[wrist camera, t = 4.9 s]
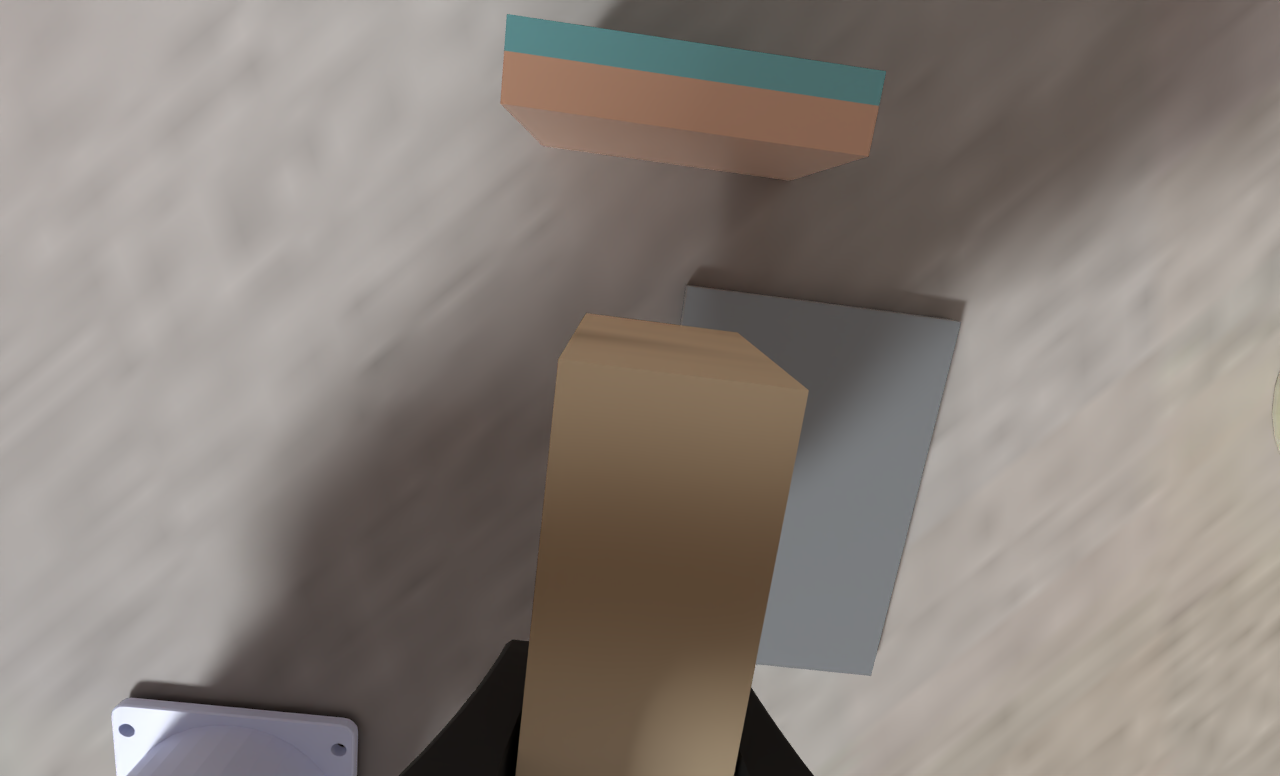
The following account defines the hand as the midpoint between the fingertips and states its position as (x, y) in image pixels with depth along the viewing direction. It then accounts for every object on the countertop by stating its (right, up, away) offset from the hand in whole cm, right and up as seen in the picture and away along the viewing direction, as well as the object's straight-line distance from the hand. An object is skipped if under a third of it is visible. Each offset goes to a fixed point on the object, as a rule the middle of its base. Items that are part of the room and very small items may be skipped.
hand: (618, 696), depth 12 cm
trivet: (+5, +3, +8) cm, 10 cm away
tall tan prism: (0, +2, +2) cm, 3 cm away
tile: (+1, +13, +6) cm, 14 cm away
